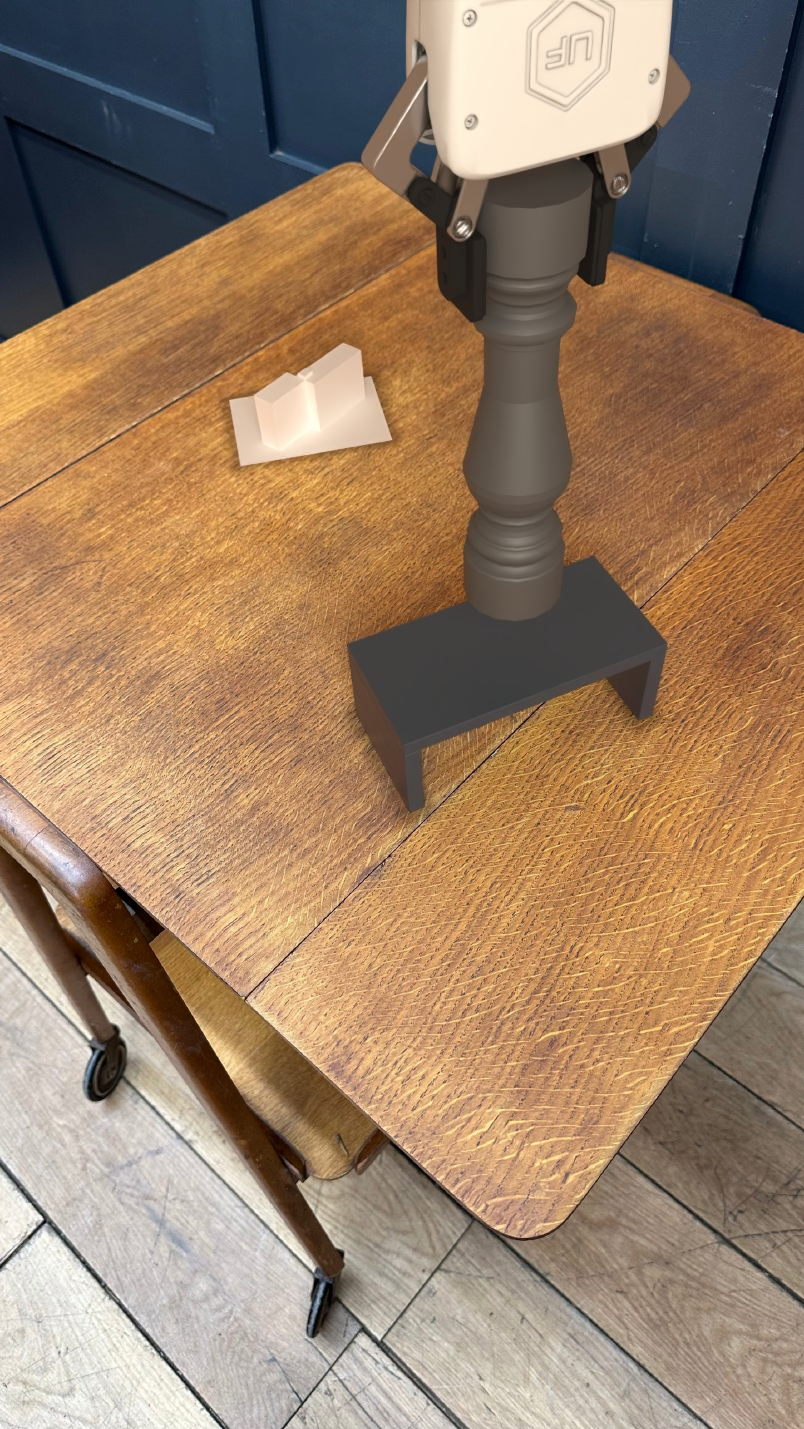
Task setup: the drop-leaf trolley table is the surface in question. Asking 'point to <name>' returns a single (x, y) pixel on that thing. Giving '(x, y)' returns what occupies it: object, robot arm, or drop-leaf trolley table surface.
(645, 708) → the shelf
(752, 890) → the drop-leaf trolley table surface
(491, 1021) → the drop-leaf trolley table surface
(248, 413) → the napkin holder
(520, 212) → the candle holder
